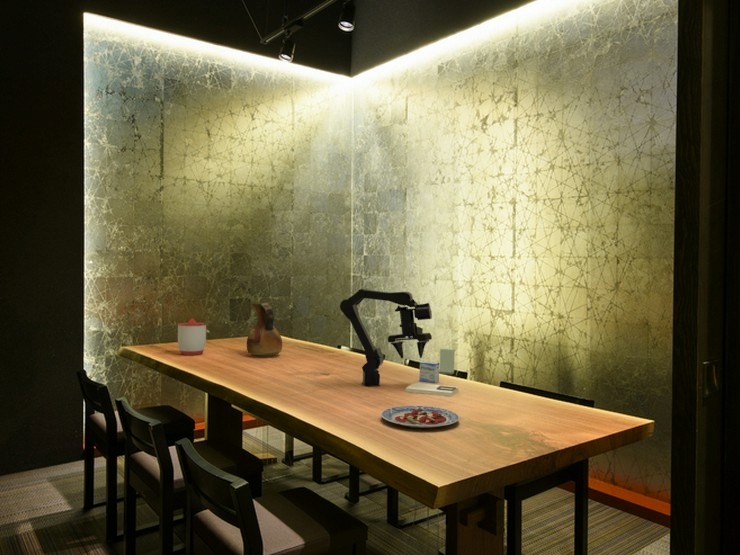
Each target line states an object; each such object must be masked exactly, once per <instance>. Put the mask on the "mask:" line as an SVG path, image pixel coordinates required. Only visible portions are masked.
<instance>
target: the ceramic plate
mask: <svg viewBox="0 0 740 555" xmlns="http://www.w3.org/2000/svg"><path fill="white" fill-rule="evenodd" d="M380 416H381V418H383V419H384V420H386V421H387V422H390V423H393V424H397V425H400V426H403V427H408V428H413V429H415V428H416V429H432V428H433V429H434V428H438V427H443V426H449V425H452V424H454V423H457V422H458V421H459V420H460V416H459V415H458V414H457V413H456V412H453V411H452V410H448V409H445V408H441V407H436V406H427V405H399V406H394V407H389V408H386V409H384V410H383V411H381V412H380Z"/></svg>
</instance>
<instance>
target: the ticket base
mask: <svg viewBox="0 0 740 555" xmlns="http://www.w3.org/2000/svg"><path fill="white" fill-rule="evenodd" d="M457 392H459V387H458V386H450V385H438V384H432V383H430V384H429V383H419V382H414V383H412V384H409V385H408V386H406V387H405V393H415V394H422V393H423V395H431V396H432V395H433V396H440V397H441V396H442V397H443V396H444V397H453V395H455V394H457Z"/></svg>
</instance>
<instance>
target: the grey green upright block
mask: <svg viewBox="0 0 740 555" xmlns="http://www.w3.org/2000/svg"><path fill="white" fill-rule="evenodd" d="M439 351H440V352H439V374H443V375H453V374H455V348H450V347H449V348H448V347H441V348H440V350H439Z"/></svg>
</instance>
